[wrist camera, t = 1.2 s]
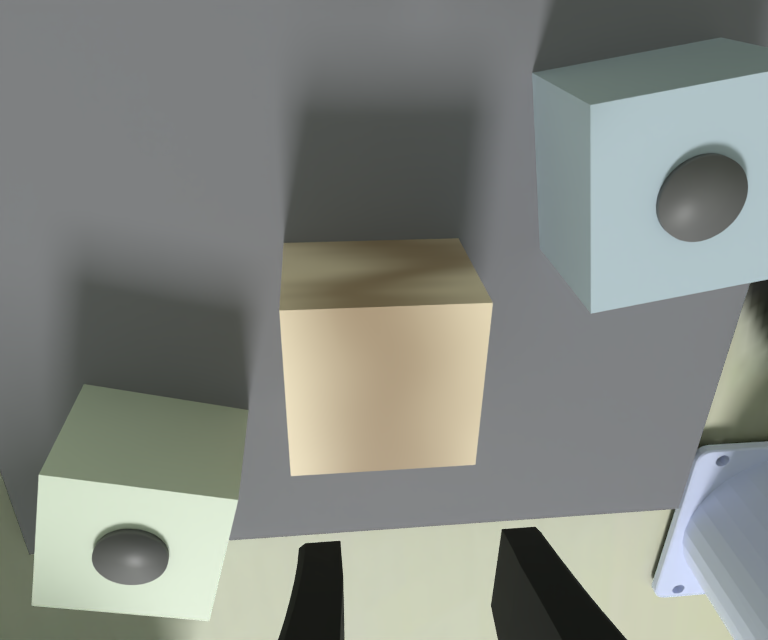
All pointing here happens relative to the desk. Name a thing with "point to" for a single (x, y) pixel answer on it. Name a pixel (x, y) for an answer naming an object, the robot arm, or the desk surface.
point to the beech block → (382, 354)
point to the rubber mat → (329, 237)
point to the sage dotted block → (138, 505)
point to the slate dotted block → (654, 172)
